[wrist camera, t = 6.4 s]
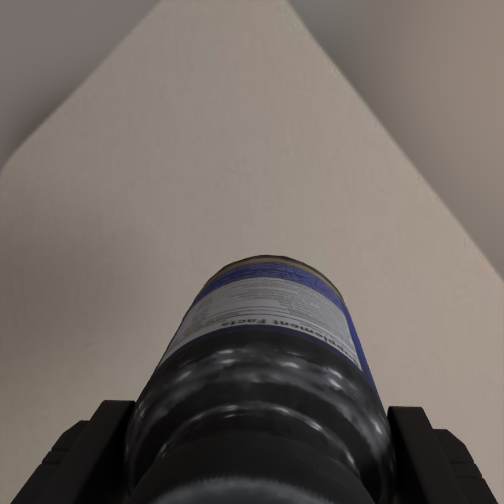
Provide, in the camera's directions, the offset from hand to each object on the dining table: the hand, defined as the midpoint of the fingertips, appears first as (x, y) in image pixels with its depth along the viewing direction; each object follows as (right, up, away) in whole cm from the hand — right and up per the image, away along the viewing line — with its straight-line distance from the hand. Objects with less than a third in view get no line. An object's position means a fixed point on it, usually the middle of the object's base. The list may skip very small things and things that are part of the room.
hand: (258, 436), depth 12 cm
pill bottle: (+1, +2, +7) cm, 7 cm away
